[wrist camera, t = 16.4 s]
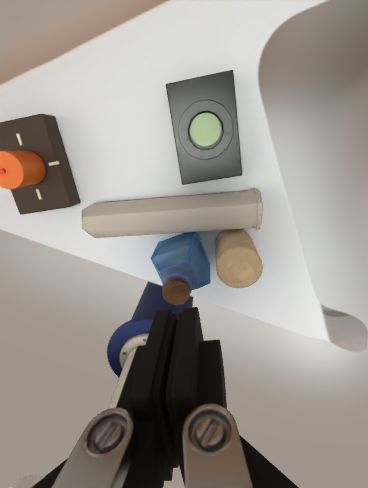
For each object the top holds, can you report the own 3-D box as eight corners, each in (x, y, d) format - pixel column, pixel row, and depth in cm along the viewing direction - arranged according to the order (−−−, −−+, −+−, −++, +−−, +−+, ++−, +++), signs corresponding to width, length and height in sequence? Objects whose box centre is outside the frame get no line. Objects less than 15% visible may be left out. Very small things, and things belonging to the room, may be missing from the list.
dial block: (82, 202, 39) (72, 206, 36) (31, 210, 40) (17, 215, 37) (56, 115, 35) (43, 112, 32) (0, 127, 36) (-18, 125, 33)
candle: (233, 267, 41) (240, 302, 32) (207, 245, 40) (207, 274, 31) (259, 243, 39) (275, 273, 30) (233, 219, 38) (240, 242, 29)
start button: (222, 144, 31) (223, 143, 30) (193, 149, 32) (192, 149, 30) (218, 111, 30) (219, 109, 29) (188, 117, 31) (187, 115, 29)
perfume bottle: (195, 229, 39) (191, 261, 28) (209, 263, 41) (210, 307, 30) (158, 242, 40) (140, 278, 29) (174, 275, 42) (162, 321, 31)
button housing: (240, 173, 36) (244, 176, 32) (183, 182, 37) (181, 186, 33) (231, 74, 32) (234, 64, 28) (168, 88, 33) (163, 80, 29)
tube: (83, 246, 37) (260, 236, 34) (68, 215, 34) (263, 201, 31) (95, 225, 42) (254, 214, 39) (83, 196, 38) (256, 181, 35)
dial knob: (38, 147, 34) (12, 147, 29) (50, 181, 35) (27, 186, 31) (8, 154, 35) (-21, 154, 30) (21, 186, 36) (-5, 192, 32)
